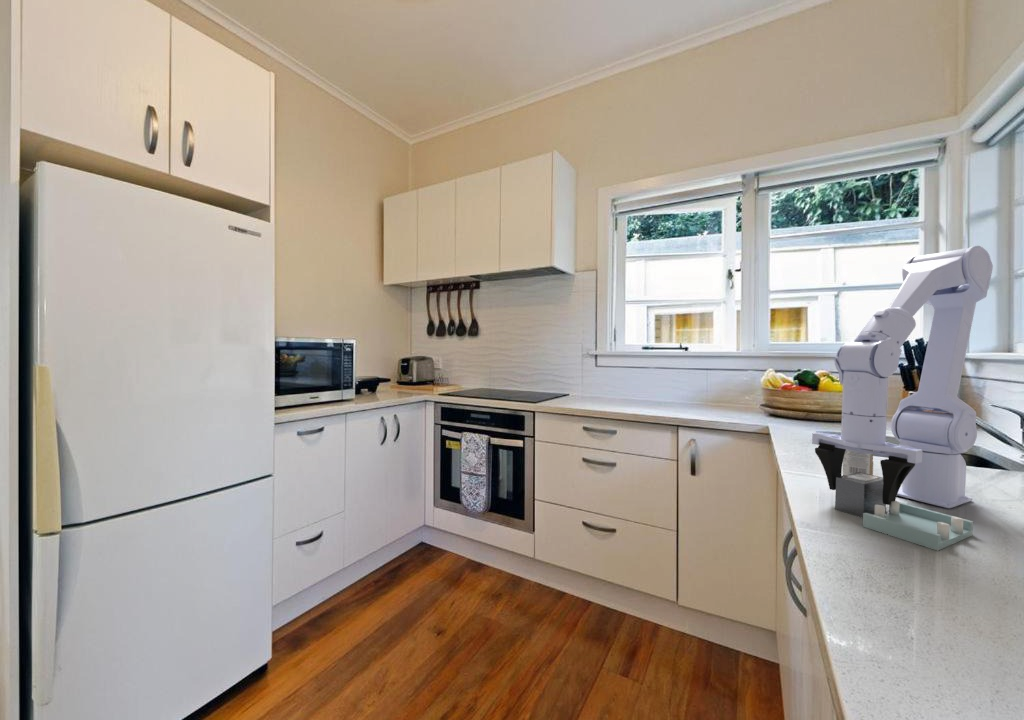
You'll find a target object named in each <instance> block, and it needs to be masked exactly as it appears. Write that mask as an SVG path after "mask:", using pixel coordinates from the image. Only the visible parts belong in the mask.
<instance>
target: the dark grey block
mask: <svg viewBox="0 0 1024 720" xmlns="http://www.w3.org/2000/svg"><path fill="white" fill-rule="evenodd" d="M882 496H883V476H878V475H874V474H873V475H870V474H866V473H861V472H856V473H852V474H848V475H843V474H842V475H841V476H839V477H836V490H835V502H834V505H835V506H834V507H835V508H834V510H835V511H839V512H842V513H846V514H849V515H853V516H856V517H858V516H859V518H861V517H862V519H863V513H869V514H873V515H874V513H875V505H882V506H885V512H886V510H887V505H886V504H883V499H882Z"/></svg>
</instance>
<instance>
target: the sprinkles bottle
mask: <svg viewBox="0 0 1024 720" xmlns="http://www.w3.org/2000/svg"><path fill="white" fill-rule="evenodd" d="M861 449H862V448H861ZM866 450H869V449H866ZM872 451H874V450H872ZM856 472H861V473H866V474H870V475H874V455H873V454H868V453H862V452H857V451H852V450H847V449H846V451H845V454H844V458H843V463H842V476H843V475H848V474H852V473H856Z"/></svg>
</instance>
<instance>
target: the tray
mask: <svg viewBox="0 0 1024 720" xmlns="http://www.w3.org/2000/svg"><path fill="white" fill-rule="evenodd" d="M888 506H889V507H888V513H886V511H885V506H882V505H875V513H874V515H873V514H869V513H863V518H862V527H863V528H866V529H869V530H872V531H875V532H879V533H881V532H882V534H885V535H887V534H888V535H887V536H891V537H894V538H897V539H900V540H904V541H907V542H909V543H913V544H916V545H919V546H922V547H926V548H928V549H932V550H935V551H937V552H938V551H940V550H943V549H946V548H947V547H949V546H952V545H954V544H956V543H958V542H960V541H962V540H965V539H967V538H970V537H972V536H973V535H974V521H973V520H969V519H966V518H961V517H958V516H954V515H951V514H946V513H942V512H939V511H935V510H931V509H928V508H923V507H920V506H916V505H912V504H909V503H904V502H901V501H897V500H895V501H892V502H891V505H888Z"/></svg>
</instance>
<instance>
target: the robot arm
mask: <svg viewBox="0 0 1024 720" xmlns="http://www.w3.org/2000/svg"><path fill="white" fill-rule="evenodd" d="M993 269H994V265H993V261H992V259H991V256H990V254H989V252H988V250H987V249H986V248H984V247H983V246H980V245H973V246H970V247H966V248H959V249H955V250H948V251H942V252H936V253H929V254H923V255H920V254H919V255H912V256H911V257H909V258H908V260H907V261H906V262H905V264H904V266H903V267H902V269H901V270H902V271H901V274H902V284H901V286H900V287H899V289H898V291H897V292H896V295H894V298H893V299H892V300H891V302H890V304H889V306H888V307H885V308H881V309H878V310H876V311H875V312H874V314H873V315H872V317H871V318H870V319H869V321H868V322H867V323H866V324H865V326H863V328H862V330H861V331H860V332H859V334H858V335H857V336H856V337H855V339H854V340H853V341H849V342H846V343H845V344H843V345H842V346H840V347H839V349H837V352H836V357H834V359H833V360H834V361H833V362H834V365H835V369H836V370H837V372H838V373H837V374H838V382H839V384H840V385H841V386H842V400H841V402H842V403H841V428H840V430H841V431H840V434H834V433H827V432H826V433H825V432H819V431H818V432H813V433H811V434H812V436H811V437H812V440H811V444H813V445H817V446H818V447H815V448H814V453H815V454H816V456H817V457H818V459H819V460H820V462H821V465H822V467H823V469H824V473H825V476H826V478H827V479H826V480H827V483H828V486H829V487H828V488H829V490H830V491H836V477H839V476H842V475H843V458H844V454H845V451H846V449H847V450H852V451H857V452H862V453H868V454H873V456H878V457H879V456H880V457H884V458H885V459H881V460H880V463H879V464H880V469H881V472H882V477H883V496H882V499H883V504H886V506H889V505H891V502H892V501H897V500H896V499H897V496H899V497H903V498H905V499H910V500H914V501H917V502H921V503H925V504H929V505H933V506H937V507H941V508H945V509H952V508H955V507H958V506H961V505H964V504H966V503H969V502H972V501H973V497H971V496H967V495H966V485H967V483H966V481H967V480H966V479H967V464H966V460H965V459H964V457H963V456H962V455H961V454H965V453H966V452H968V451H969V450H970V449H971V448H973V447H974V445H975V443H976V441H977V437H978V429H977V411H975V409H974V408H973V407H971V405H969V404H968V403H966V402H964V400H962V399H961V398H959V396H958V394H959V389H960V384H961V379H962V375H963V369H964V363H965V359H966V355H967V349H968V345H969V339H970V336H971V335H970V334H971V331H972V324H973V320H974V315H975V310H976V306H977V303H978V302H980V301H982V300H984V299H985V298H987V295H988V290H989V288H990V282H991V279H992V275H993ZM924 305H929V306H932V307H933V309H934V312H933V317H932V321H931V327H930V331H929V336H928V341H927V345H926V351H925V355H924V360H923V365H922V370H921V374H920V380H919V385H918V389H917V391H916V392H914V393H912V394H911V395H909V396H906V397H904V398H902V399H901V400H900V401H899V404H898V407H897V409H896V412H895V413H893V416H892V418H891V421H890V431H891V433H892V435H893V436H894V439H896V440H897V441H898V444H895V443H892V442H888V441H887V442H886V440H887V439H886V438H887V419H888V418H887V417H888V416H887V414H888V413H887V412H888V410H887V409H888V390H889V389H888V388H889V378H890V377H891V376H892V375H894V373H896V371H897V370H898V367H899V364H900V356H901V355H902V351H903V350H902V349H901V347H902V346H904V345H903V344H904V343H905V342H906V341H907V339H908V338H909V337H910V335H911V334H912V332H913V331H914V330H915V328H916V325H917V323H916V320H915V318H914V316H915V315H916V314H917V313H918V312H919V310H920V309H921V308H922V307H923V306H924ZM861 448H862V449H861ZM866 449H869V450H866ZM872 450H873V451H872ZM901 486H902V487H901Z"/></svg>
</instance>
